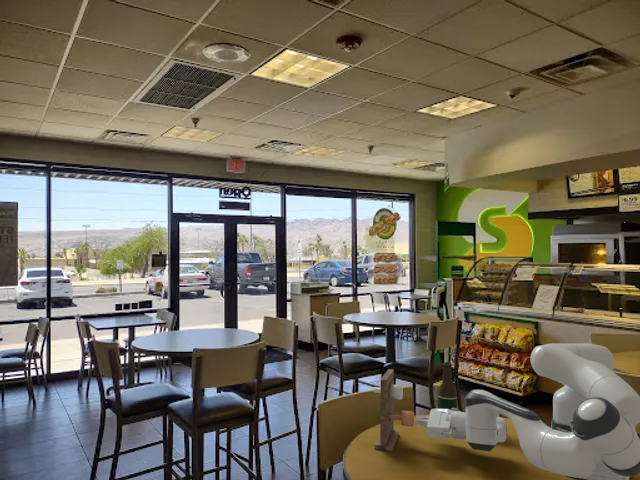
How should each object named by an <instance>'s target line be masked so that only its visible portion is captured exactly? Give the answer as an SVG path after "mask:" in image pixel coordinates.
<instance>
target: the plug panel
mask: <svg viewBox="0 0 640 480" xmlns="http://www.w3.org/2000/svg"><path fill="white" fill-rule="evenodd" d="M394 375H395V370H394V369H392V368H391V369H390V368H388V369H387V371H386V372H385V373H384V374H383V376H382V377H381V378H380V388H381V393H380V421H379V422H380V424H379V425H380V431H379V433H380V434H379V435H378V437H377V439H376V441H375V442H374V450H381V451H389V452H393V450H394V447H395V445H396V443H397V441H398V437H399V436H400V431H399V430H397V429H394V422H395V420H393V419H389V414H394V412H395V411H394V405H395V403H394V401H395V399H390V394H389V389H390V385H391V384H394V382H395V380H394V379H395V378H394Z"/></svg>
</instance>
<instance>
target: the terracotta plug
mask: <svg viewBox="0 0 640 480" xmlns="http://www.w3.org/2000/svg"><path fill="white" fill-rule="evenodd" d="M389 419H393V420H394V421H400V425H401V426H404V427H414V425H415V412H414V411H412V410H411V411H410V410H401V413H400V414H396V413H395V414H389Z"/></svg>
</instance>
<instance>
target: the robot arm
mask: <svg viewBox="0 0 640 480" xmlns="http://www.w3.org/2000/svg"><path fill="white" fill-rule="evenodd" d="M529 361H530V364H531V367H532V369H533V371H534V372H535V373H536V374H537V375H538V376H540V377H545V378H547V379H551V380H553V381H555V382H558V383H560V384H562V385H563V386H562V387H560V388H558V389H557V390H556V391H555V392H554V394H553V397H552V418H551V425H550V426H551V427H549V426H548V425H547V424H546V423H544V422H543V421H542V419H541V418H540V416H539V415H538V414H537V413H536V412H534V411H533V410H530V409H528V408H526V407H523V406H521V405H519V404H516V403H514V402H511V401H508V400H507V399H504V398H502V397H499V396H497V395H495V394H493V393H491V392H489V391H486V390H484V389H471V390H470V391H469V392H468V393H467V394H466V395H465V397H464V398H463V401H464V407H465V412H464V411H461V410H459V409H458V408H457V409H456V408H452V409H451V410H450V409H438V408H432V409H430V412H429V416H415V418H414V425H417V426H418V425H419V426H421V427H424V428H426V432H425V433H426V436H427V437H429V438H433V439H448V438H450V439H457V440H465V441H466V442H467V444H468V445H469V446H470V447H471V449H472V450H476V451H483V452H491V451H492V450H493V449H495V447H496V446H497V444H498V443H504V442H506V440H507V437H508V428H507V427H508V426H507V422H506V420H505V419H504V417H506V418H508V419H509V420H510V421H511V422H512V424H513V427H514V428H515V432H516V434H517V437H518V438H517V439H518V441H519V445H520V449H521V450H522V453H523V454H524V456H525V457H526V459H527V460H528V462H529V463H531V464H532V465H533V466H535V467H537V468H539V469H542V470H544V471H548V472H551V473H553V474H558V475H562V476H567V477H571V478H575V479H576V478H577V479H583V480H630V479H629V478H631V477H633V476H637V475H639V474H640V434H639V433H637V430H636V427H637V425H638V424H639V423H640V395H639V394H638V393H637V391H636V390H635V389H634V388H633V387H632V386H631V385H630V384H629V383H628V382H627V381H625V380H624V379H623V378H622V377H620V376H619V375H618V374H616V373H615V372H614V369H615V358H614V355H613V353H612V352H611V351H610V350H609V348H607V347H606V346H604V345H600V344H595V343H588V342H587V343H582V342H581V343H580V342H579V343H576V342H575V343H558V342H557V343H554V342H552V343H545V344H541V345H537V346H535V347H534V348H533V350H532V351H531V354H530V360H529ZM497 413H499V415H503V416H504V417H500V416H499V417H497Z"/></svg>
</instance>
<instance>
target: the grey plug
mask: <svg viewBox="0 0 640 480" xmlns="http://www.w3.org/2000/svg"><path fill="white" fill-rule="evenodd" d="M403 386H404V385H402V384H391V385H390V389H389V394H390V399H394V400H398V401H399V400H400V401H402V400H403V394H404V387H403ZM373 392H374V393H377V394H378V393H379V394H381V387H376V386H374V387H373Z"/></svg>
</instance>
